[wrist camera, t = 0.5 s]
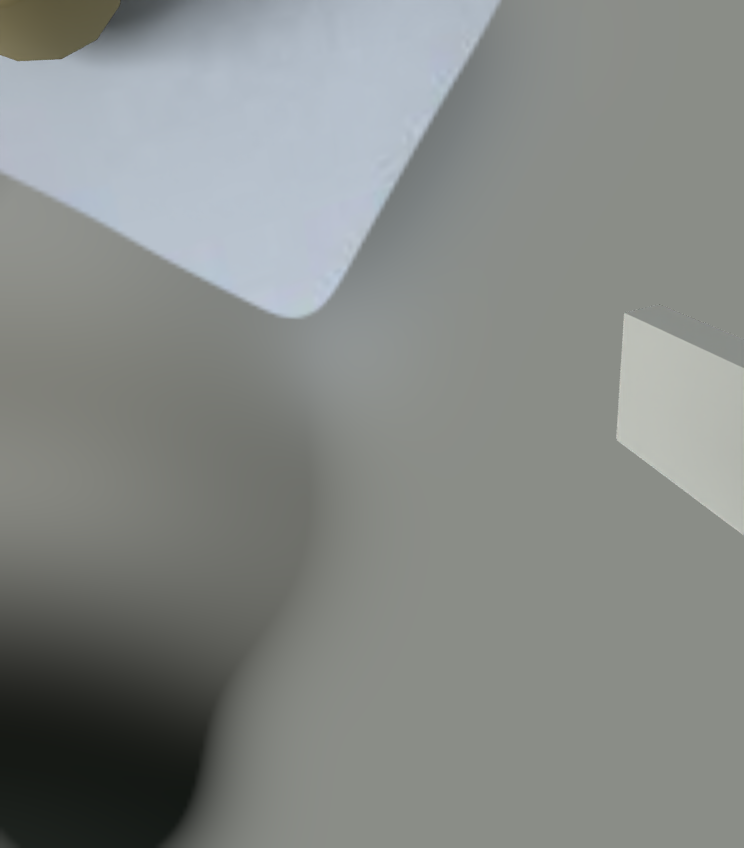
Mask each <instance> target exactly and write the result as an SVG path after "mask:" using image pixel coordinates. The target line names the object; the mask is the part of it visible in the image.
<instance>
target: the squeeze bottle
mask: <svg viewBox="0 0 744 848" xmlns="http://www.w3.org/2000/svg"><path fill="white" fill-rule="evenodd" d="M120 1H121V0H0V55H2V56H5V57H8V58H11V59H13V60H16V61H31V60H53V59H62V58H64V57H66V56H68V55H70V54H72V53H73V52H75V51H77V50H79V49H81V48H83V47H84V46H86V45H88V44H90V43H92V42H94V41H95V40H97V39H98V37H99V36H100V34H101V33H102V31H103V30H104V28H105V27H106V25H107V24H108V22H109V21H110V19H111V18H112V16H113V15H114V13H115V12H116V10H117V9H118V7H119V6H120Z"/></svg>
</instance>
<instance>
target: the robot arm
mask: <svg viewBox="0 0 744 848" xmlns="http://www.w3.org/2000/svg"><path fill="white" fill-rule="evenodd" d="M616 440H618V441H619V442H620V443H622V444H623V445H624V446H625V447H627V448H628V449H629V450H631V451H632V452H633V453H635V454H636V455H638V456H639V457H640V458H641V459H643V460H644V461H645V462H647V463H648V464H650V465H651V466H652V467H654V468H655V469H656V470H657V471H659V472H660V473H661V474H663V475H664V476H665V477H667V478H668V479H669V480H671V481H672V482H673V483H675V484H676V485H677V486H679V487H680V488H681V489H683V490H684V491H685V492H687V493H688V494H689V495H691V496H692V497H693V498H695V499H696V500H697V501H699V502H700V503H701V504H703V505H704V506H705V507H707V508H708V509H709V510H711V511H712V512H713V513H715V514H716V515H717V516H719V517H720V518H721V519H723V520H724V521H725V522H727V523H728V524H729V525H731V526H732V527H733V528H735V529H736V530H738V531H739V532H740V533H741V534H743V535H744V339H742V338H740V337H738V336H735V335H733V334H730V333H728V332H726V331H723V330H721V329H718V328H716V327H713V326H711V325H709V324H706V323H704V322H701V321H699V320H696V319H694V318H692V317H689V316H687V315H684V314H682V313H680V312H677V311H675V310H672V309H670V308H668V307H665V306H663V305H660V304H659V305H655V306H651V307H646V308H642V309H638V310H634V311H629V312H625V313H624V324H623V340H622V357H621V372H620V388H619V404H618V421H617V438H616Z"/></svg>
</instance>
